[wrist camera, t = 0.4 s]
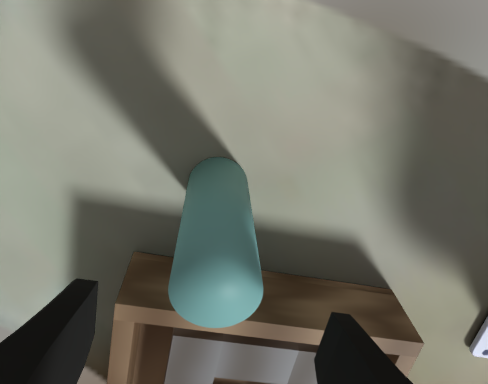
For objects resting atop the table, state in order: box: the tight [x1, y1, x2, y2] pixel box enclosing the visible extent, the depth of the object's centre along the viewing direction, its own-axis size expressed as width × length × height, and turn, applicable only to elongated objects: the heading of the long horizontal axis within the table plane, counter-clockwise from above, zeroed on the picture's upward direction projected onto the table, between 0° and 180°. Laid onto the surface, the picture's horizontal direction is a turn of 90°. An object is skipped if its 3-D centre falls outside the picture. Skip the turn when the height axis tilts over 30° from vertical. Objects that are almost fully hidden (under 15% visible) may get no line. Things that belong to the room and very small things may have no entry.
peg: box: [168, 157, 263, 328], centre depth 18 cm, size 3×3×9 cm
